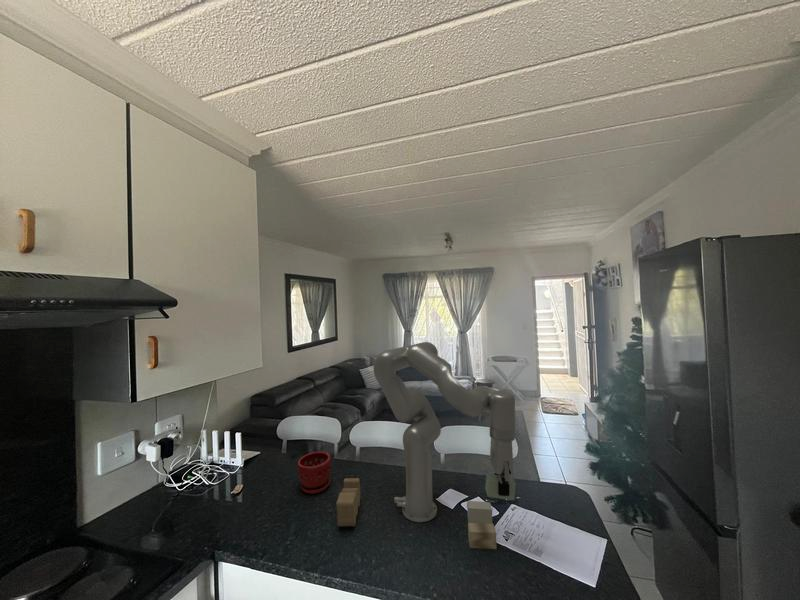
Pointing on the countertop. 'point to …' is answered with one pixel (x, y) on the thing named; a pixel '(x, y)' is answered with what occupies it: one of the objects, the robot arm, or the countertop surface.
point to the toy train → (348, 502)
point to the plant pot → (314, 472)
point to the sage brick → (492, 487)
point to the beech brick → (482, 535)
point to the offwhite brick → (479, 512)
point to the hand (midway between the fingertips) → (501, 489)
